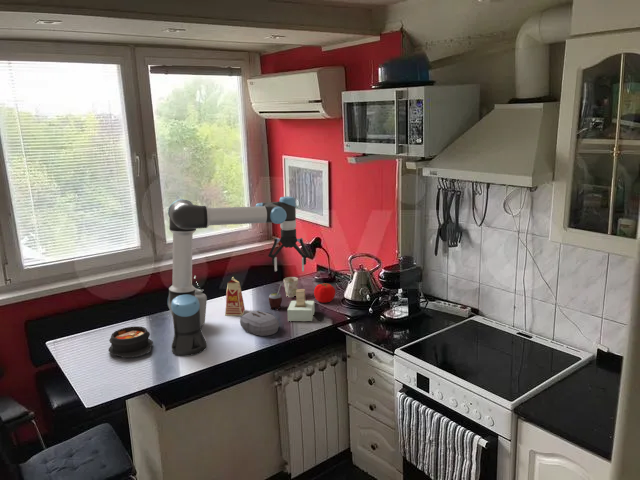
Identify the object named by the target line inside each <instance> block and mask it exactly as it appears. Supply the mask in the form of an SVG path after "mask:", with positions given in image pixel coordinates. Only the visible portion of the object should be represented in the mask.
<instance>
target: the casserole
mask: <svg viewBox="0 0 640 480" xmlns="http://www.w3.org/2000/svg"><path fill="white" fill-rule="evenodd" d="M150 335H151V334H150V331H149V330H148V329H147V328H146V327H144V326H138V325H137V326H128V327H122V328H119V329H117V330H115V331H114V332H112V333H111V336H110V338H109V339H108V340H109V343H110V344H111V345H110V346H109V348H108V352H109V354H111V355H115V356H118V357H121V358H125V359H130V358H131V359H133V358H135V357H136V358H137V357H140V356H143V355H146V354H148V353H149V352H151V351H152V347H153V345H154V342H153V341H152V340H151V338H149V337H150Z"/></svg>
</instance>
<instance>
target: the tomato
mask: <svg viewBox="0 0 640 480" xmlns="http://www.w3.org/2000/svg"><path fill="white" fill-rule="evenodd" d="M313 295H314V298H315V300H316V301H317V302H319V303H330V302H332V301H333V299H334V298H335V296H336V289H335V287H334V286H332V284H330V283H327V282H326V283H325V282H323V283H319V284H317V285H316V286H315V287H314V290H313Z"/></svg>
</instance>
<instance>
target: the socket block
mask: <svg viewBox="0 0 640 480" xmlns="http://www.w3.org/2000/svg"><path fill="white" fill-rule="evenodd" d="M305 305H306V307H297V303H296V300H290V303H289V306H288V307H287V310H286V311H287V322H289V321H290V322H291V321H312V322H313V320H314V319H313V318H314V316H313V315H315V311H316V310H315V308H316V307H315V300H305Z"/></svg>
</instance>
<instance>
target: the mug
mask: <svg viewBox="0 0 640 480" xmlns="http://www.w3.org/2000/svg"><path fill="white" fill-rule="evenodd" d="M283 282H284V283H283V285H284V290H285V296H286V297H287V296H288V297H287V298H295V297H294V296H296V291H297V289H299V288H298V285H299V278H298V277H296V276H288V277H285V278H283Z"/></svg>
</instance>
